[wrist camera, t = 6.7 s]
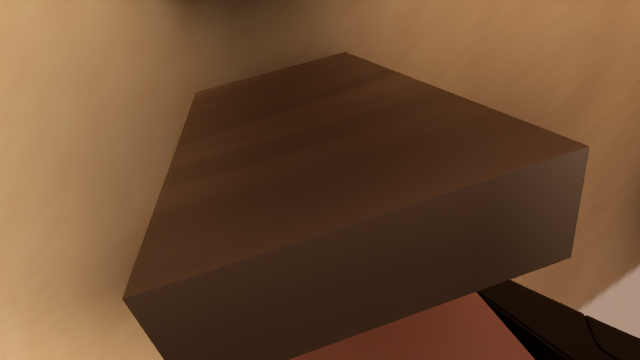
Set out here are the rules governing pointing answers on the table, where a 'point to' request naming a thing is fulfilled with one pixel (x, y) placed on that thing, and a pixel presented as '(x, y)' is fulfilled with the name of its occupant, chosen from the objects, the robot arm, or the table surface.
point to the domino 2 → (433, 337)
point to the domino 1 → (342, 210)
